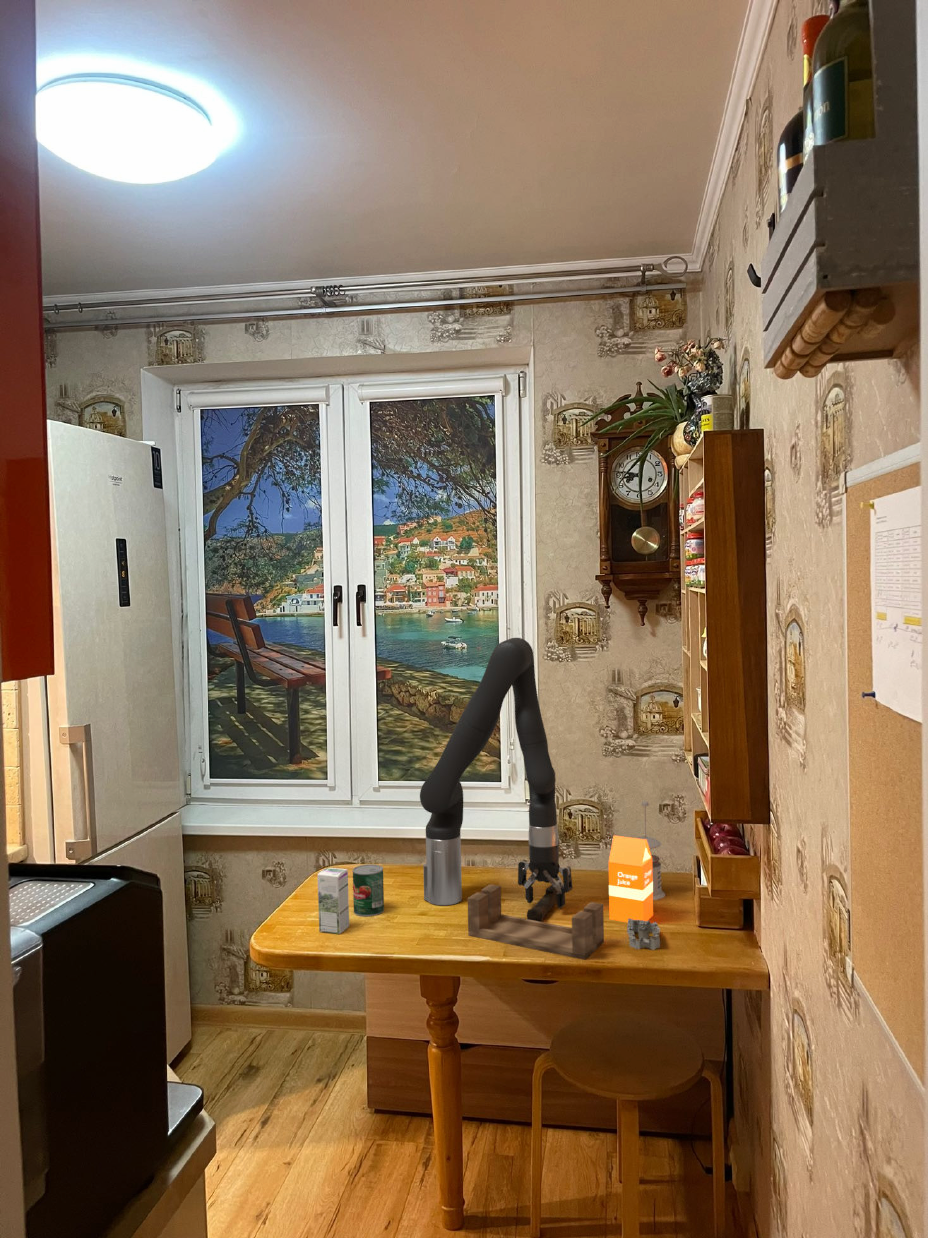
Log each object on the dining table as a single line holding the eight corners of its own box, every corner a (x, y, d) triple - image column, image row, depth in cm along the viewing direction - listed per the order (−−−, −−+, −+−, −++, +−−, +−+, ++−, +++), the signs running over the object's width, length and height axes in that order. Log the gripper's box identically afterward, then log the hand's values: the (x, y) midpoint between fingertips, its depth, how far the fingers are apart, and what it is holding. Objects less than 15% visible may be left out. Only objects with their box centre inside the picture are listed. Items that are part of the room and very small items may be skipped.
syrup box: (350, 926, 222) (348, 868, 221) (339, 935, 216) (337, 875, 216) (329, 924, 224) (328, 866, 223) (318, 932, 218) (316, 873, 217)
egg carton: (660, 952, 203) (660, 934, 203) (626, 950, 204) (626, 932, 204) (660, 933, 213) (659, 916, 213) (627, 932, 215) (627, 915, 215)
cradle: (468, 935, 214) (467, 898, 214) (490, 920, 224) (490, 884, 223) (584, 960, 199) (584, 919, 198) (603, 942, 208) (603, 904, 208)
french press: (663, 888, 244) (661, 796, 244) (668, 903, 233) (666, 807, 232) (626, 887, 245) (625, 796, 245) (629, 902, 234) (628, 807, 233)
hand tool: (541, 926, 220) (541, 907, 219) (526, 924, 221) (526, 905, 221) (566, 901, 237) (566, 884, 237) (552, 899, 238) (551, 882, 238)
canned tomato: (348, 915, 229) (347, 872, 229) (361, 904, 237) (359, 863, 236) (377, 918, 227) (376, 875, 226) (389, 907, 234) (387, 865, 234)
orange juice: (619, 909, 229) (618, 831, 228) (653, 915, 225) (652, 835, 224) (608, 919, 222) (607, 839, 222) (643, 925, 218) (642, 844, 217)
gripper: (511, 842, 229) (513, 905, 229) (562, 849, 221) (564, 914, 222) (525, 835, 235) (527, 896, 236) (575, 841, 228) (577, 904, 228)
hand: (545, 904), depth 229 cm, fingers open, 8 cm apart
